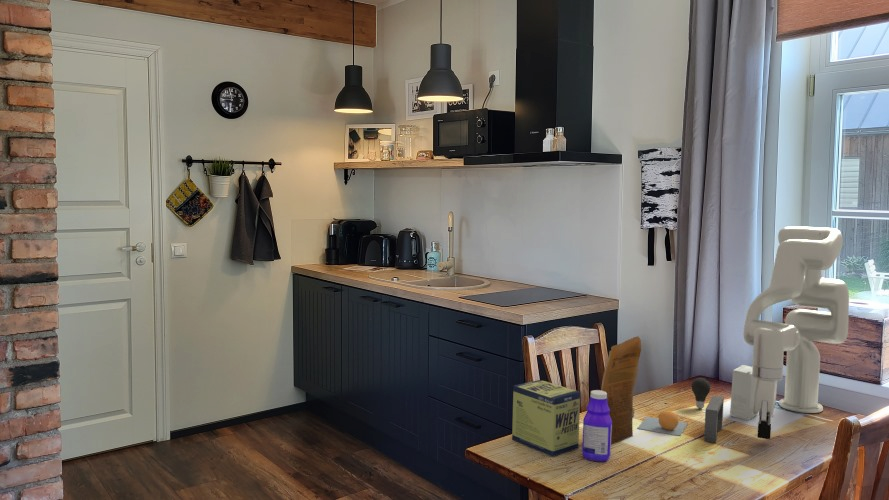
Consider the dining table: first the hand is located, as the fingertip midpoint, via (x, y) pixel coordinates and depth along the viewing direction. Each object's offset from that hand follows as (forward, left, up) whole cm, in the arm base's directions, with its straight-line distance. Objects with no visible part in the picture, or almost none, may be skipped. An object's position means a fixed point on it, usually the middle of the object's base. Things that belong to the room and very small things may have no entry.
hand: (763, 437), depth 193 cm
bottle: (+34, -37, -2) cm, 50 cm away
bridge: (0, -13, -2) cm, 13 cm away
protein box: (+31, -52, -2) cm, 61 cm away
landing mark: (0, -27, -2) cm, 27 cm away
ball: (+2, -25, +1) cm, 25 cm away
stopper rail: (0, -37, -2) cm, 38 cm away
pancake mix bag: (+17, -36, -2) cm, 40 cm away
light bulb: (-23, -20, -2) cm, 31 cm away
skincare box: (-23, -7, -2) cm, 24 cm away
